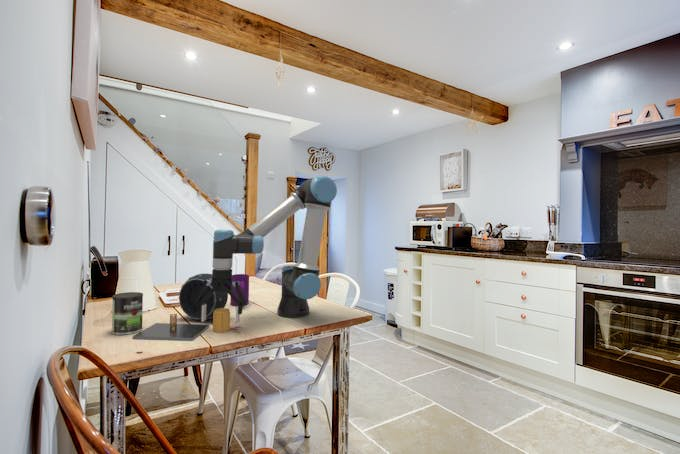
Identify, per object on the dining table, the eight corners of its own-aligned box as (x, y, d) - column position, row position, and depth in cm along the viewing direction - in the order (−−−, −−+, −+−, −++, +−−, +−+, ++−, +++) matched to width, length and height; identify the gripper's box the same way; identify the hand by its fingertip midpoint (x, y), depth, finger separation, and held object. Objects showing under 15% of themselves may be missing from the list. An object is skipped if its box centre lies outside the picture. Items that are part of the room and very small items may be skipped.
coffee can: (148, 329, 138) (148, 294, 138) (120, 336, 130) (120, 299, 129) (134, 325, 144) (134, 290, 144) (106, 331, 135) (106, 295, 135)
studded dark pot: (217, 324, 147) (218, 277, 147) (175, 320, 151) (175, 274, 151) (230, 317, 158) (231, 273, 157) (190, 314, 162) (191, 270, 161)
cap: (231, 327, 143) (231, 308, 143) (226, 332, 137) (226, 312, 137) (216, 327, 144) (217, 307, 143) (211, 332, 138) (211, 311, 137)
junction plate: (209, 327, 144) (209, 310, 143) (192, 340, 128) (192, 321, 127) (156, 325, 144) (156, 308, 144) (132, 338, 128) (132, 319, 128)
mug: (247, 301, 188) (247, 273, 188) (252, 308, 174) (252, 278, 174) (229, 302, 185) (229, 274, 184) (233, 310, 170) (233, 279, 170)
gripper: (255, 268, 143) (254, 320, 144) (195, 266, 144) (193, 317, 144) (251, 271, 136) (249, 325, 136) (187, 268, 136) (185, 322, 137)
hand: (220, 321), depth 140 cm, fingers open, 13 cm apart
